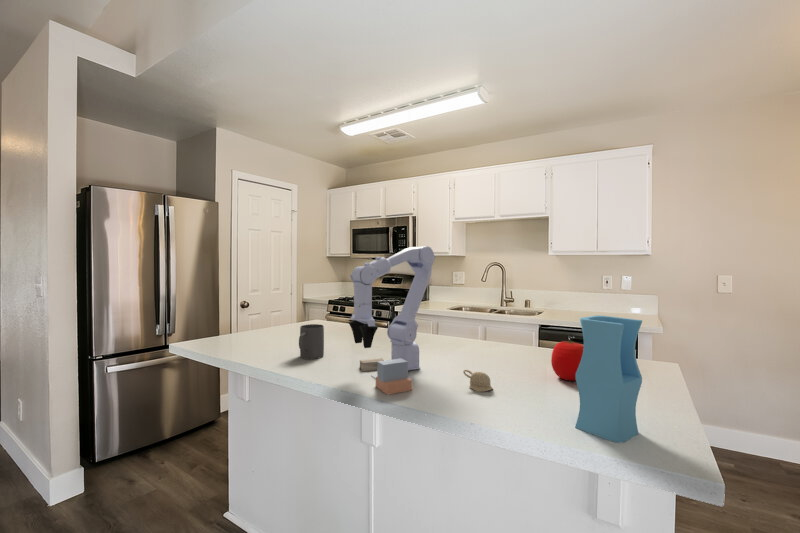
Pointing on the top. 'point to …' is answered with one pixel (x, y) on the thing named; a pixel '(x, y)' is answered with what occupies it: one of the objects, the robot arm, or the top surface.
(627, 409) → the vase
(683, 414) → the top surface
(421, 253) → the robot arm
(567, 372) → the tomato
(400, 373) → the top brick
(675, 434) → the top surface
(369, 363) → the brick
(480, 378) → the decorative ornament
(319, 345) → the mug
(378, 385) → the base brick
